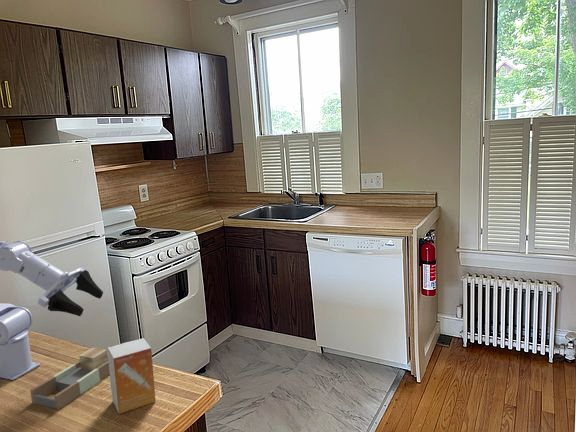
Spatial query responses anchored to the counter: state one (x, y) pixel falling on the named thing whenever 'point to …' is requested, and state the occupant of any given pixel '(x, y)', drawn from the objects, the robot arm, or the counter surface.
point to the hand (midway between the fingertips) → (92, 303)
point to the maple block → (93, 358)
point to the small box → (131, 375)
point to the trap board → (68, 385)
